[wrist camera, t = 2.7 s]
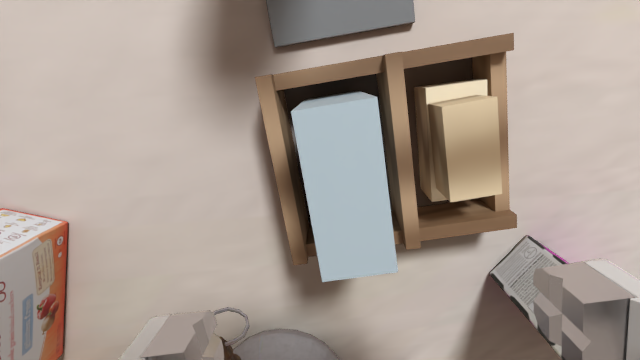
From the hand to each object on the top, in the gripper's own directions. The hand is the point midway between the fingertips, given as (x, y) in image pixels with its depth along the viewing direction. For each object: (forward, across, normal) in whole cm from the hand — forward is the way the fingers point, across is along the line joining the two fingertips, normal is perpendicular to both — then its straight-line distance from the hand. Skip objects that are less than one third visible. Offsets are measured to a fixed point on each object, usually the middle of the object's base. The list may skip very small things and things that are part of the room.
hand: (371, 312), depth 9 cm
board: (+20, 0, 0) cm, 20 cm away
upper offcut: (+16, -8, 0) cm, 18 cm away
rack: (+20, -3, 0) cm, 20 cm away
